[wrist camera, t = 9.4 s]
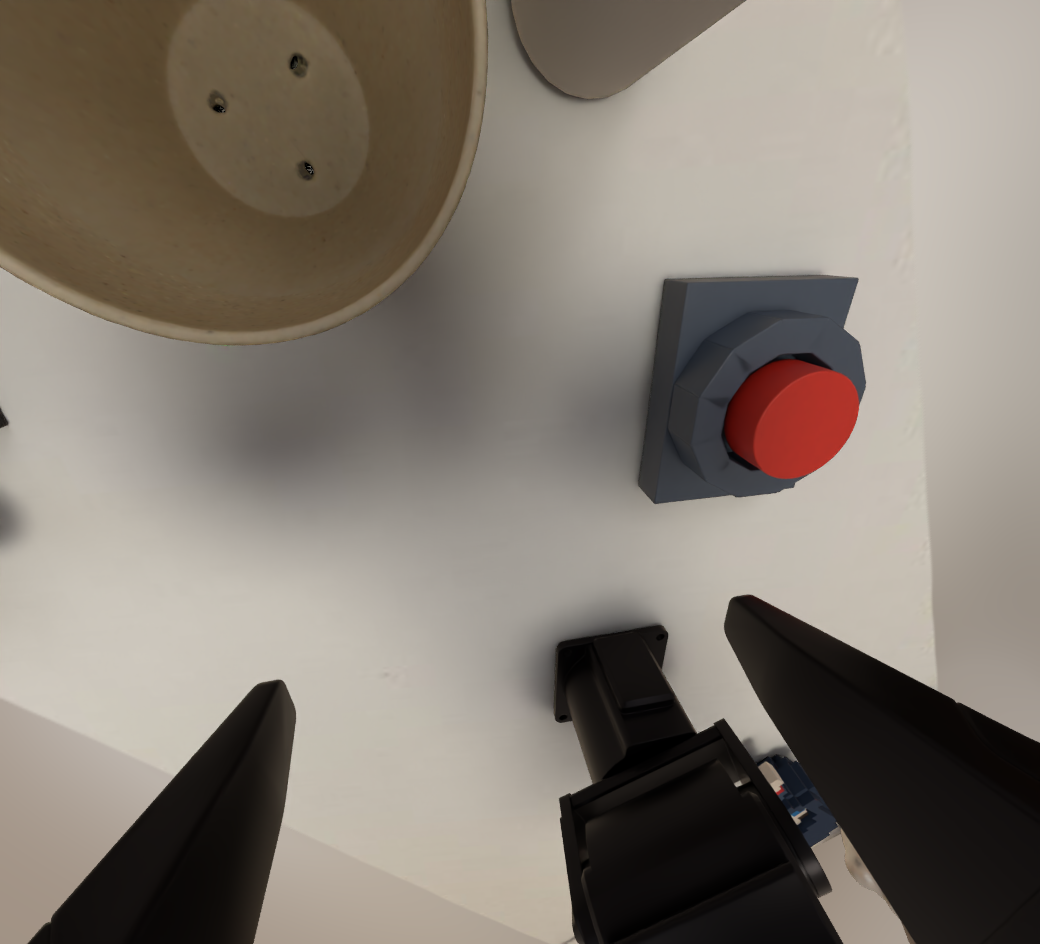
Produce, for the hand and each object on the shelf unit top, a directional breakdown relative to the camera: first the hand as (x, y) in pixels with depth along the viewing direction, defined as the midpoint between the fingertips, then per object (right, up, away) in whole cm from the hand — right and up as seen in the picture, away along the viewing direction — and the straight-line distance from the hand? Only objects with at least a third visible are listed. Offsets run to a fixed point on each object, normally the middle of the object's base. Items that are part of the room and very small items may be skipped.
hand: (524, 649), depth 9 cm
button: (+9, +6, +8) cm, 14 cm away
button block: (+9, +7, +11) cm, 16 cm away
